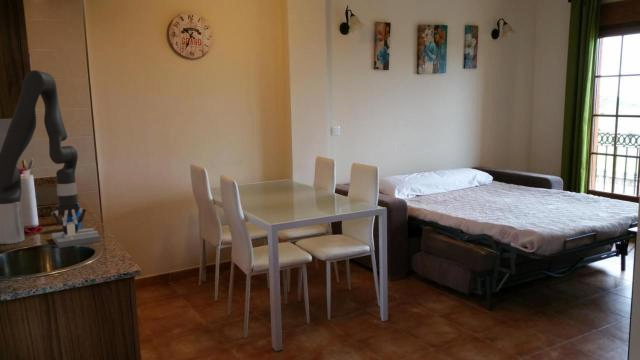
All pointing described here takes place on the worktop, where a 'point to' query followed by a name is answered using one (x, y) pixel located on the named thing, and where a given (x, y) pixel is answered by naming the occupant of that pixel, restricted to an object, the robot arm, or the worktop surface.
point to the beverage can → (76, 217)
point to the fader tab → (70, 228)
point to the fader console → (76, 238)
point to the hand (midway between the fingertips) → (70, 233)
